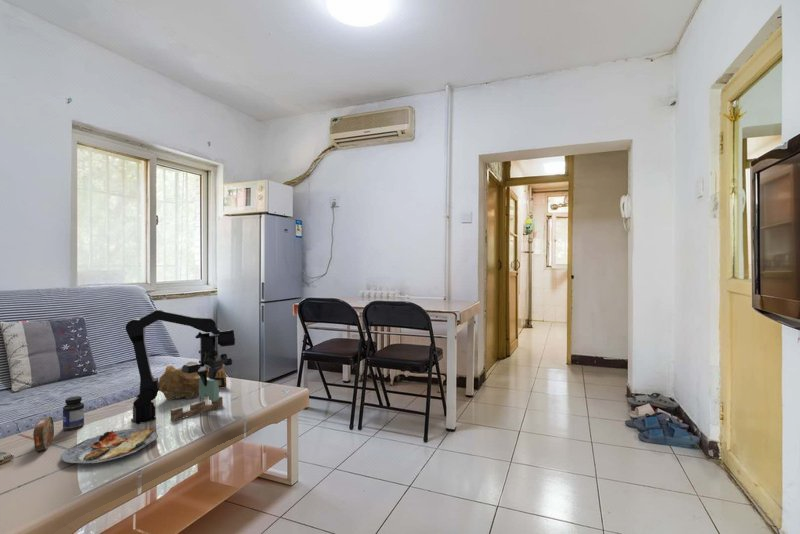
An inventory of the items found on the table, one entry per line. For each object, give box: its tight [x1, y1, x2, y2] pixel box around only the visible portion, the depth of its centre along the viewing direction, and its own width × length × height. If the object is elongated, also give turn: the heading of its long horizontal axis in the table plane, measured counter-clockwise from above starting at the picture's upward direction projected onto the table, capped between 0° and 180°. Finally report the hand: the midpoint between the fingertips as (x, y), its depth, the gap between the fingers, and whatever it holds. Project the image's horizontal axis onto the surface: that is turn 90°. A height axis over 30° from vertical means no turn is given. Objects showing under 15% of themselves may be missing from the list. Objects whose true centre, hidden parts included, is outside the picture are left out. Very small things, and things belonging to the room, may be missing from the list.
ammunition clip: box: [206, 364, 227, 388], centre depth 197 cm, size 11×2×12 cm, turn 86°
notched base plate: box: [170, 395, 223, 422], centre depth 160 cm, size 20×2×4 cm, turn 144°
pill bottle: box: [62, 395, 85, 431], centre depth 146 cm, size 6×6×11 cm
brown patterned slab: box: [32, 416, 55, 452], centre depth 130 cm, size 15×3×8 cm, turn 32°
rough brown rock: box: [158, 361, 200, 401], centre depth 183 cm, size 23×17×15 cm
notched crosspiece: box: [198, 377, 220, 402], centre depth 163 cm, size 2×12×8 cm, turn 54°
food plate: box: [59, 427, 159, 465], centre depth 126 cm, size 25×23×4 cm
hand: (208, 385), depth 163 cm, fingers closed on notched crosspiece, 2 cm apart
